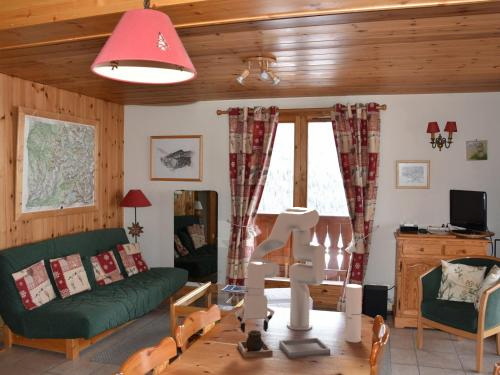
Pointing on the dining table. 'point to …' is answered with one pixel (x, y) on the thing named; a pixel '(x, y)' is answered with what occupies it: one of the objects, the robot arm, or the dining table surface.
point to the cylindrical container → (353, 313)
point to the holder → (255, 353)
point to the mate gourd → (254, 341)
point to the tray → (304, 347)
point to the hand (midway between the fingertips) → (254, 331)
